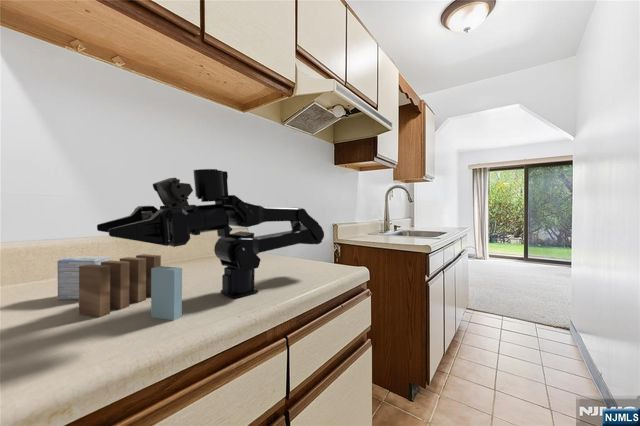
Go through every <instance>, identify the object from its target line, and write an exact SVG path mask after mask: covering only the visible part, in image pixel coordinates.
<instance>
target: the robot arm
mask: <svg viewBox="0 0 640 426" xmlns="http://www.w3.org/2000/svg"><path fill="white" fill-rule="evenodd" d="M192 171H193V180H194V189H193V187H192V185H191V184H190V183H188V182H187V183H185V182H181V180H180V178H177V177H169V178H166V179H163V180H160V181H157V182H153V183H152V187H153V190H154V191H155V192H156V193H157V195H158V197H159V199H160V201H161V203H162V204H163V205H159V208H157V207H155V206H154V205H140V206H139V205H138V206H137V207H135V208H134V210H133V211H132V213H130V215H127V216H124V217H120V218H117V219H112V220H109V221H105V222H101V223H99V224H97V225H96V229H97V230H96V231H98V232H104V233H108V235H109V237H112V238H116V239H118V238H119V239H123V240H129V241H136V242H142V243H146V244H147V243H149V244H155V245H160V246H165V247H168V246H170V247H174V248H175V247H180V246H185V245H187V243H188V242H189V241H190V240H191V236H198V235H199V236H200V235H201V233H208V232H214V231H217V237H218V239H217V241H216V242H215V244H214V249H213V250H214V251H213V252H214V255H215V256H216V257H217V258H218V259H219V261H220V264H221V266H225V267H223V270H224V273H223V274H222V275H221V276H222V279H221V280H222V281H221V285H222V286H221V288H222V289H221V290H220V293H221V294H224V295H226V296H228V297H230V298H232V299H239V298H241V297H246V296H249V295H252V294H253V295H254V294H257V293H258V292H259V289H257V288H255V276H256V275H255V271H256V270H255V269H258V268H259V267H260V262H261V258H260V257H259V256H258V255H259V254H260V253H264V252H269V251H273V250H277V249H282V248H286V247H290V246H294V245H300V244H302V245H303V244H304V245H319V244H321V243H322V242H323V240H324V238H325V232H324V229H323V228H322V227H323V226H321V225H320V224H319V221H317V220H316V219H314V218H313V217H312V216H311V215H309V214H308V211H307V210H306V209H305V208H303V207H289V208H288V207H265V206H262V205H259V204H256V203H251V202H247V201H246V202H245V201H243V200H242V199H241V198H239V197H238V196H237V195H235V194H231V195H230V194H229V189H228V188H229V187H228V185H229V184H228V177H229V176H228V171H227V170H226V171H225V170H224V171H223V170H220V169H219V170H218V169H216V168H215V169H214V168H213V169H212V168H205V169H203V168H201V169H194V170H192ZM194 190H195V191H194ZM192 192H195V197H196V198H197V200H201V203H206V202H207V203H208V202H214V203H212V204H202V205H197V204H189V201H188V200H189V196H190V195H191V194H192ZM266 222H267V223H268V222H269V223H270V222H289V223H290V227H291V230H287V231H281V232H280V231H279V232H275V233H268V234H264V235H258V236H257V235H256V236H255V233H254V232H251V231H250V232H249V231H237V232H233V233H231V232H232V231H233V228H232V227H241V228H250V227H255V226H258V225H261V224H263V223H266ZM231 226H232V227H231Z"/></svg>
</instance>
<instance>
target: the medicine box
mask: <svg viewBox="0 0 640 426" xmlns="http://www.w3.org/2000/svg"><path fill="white" fill-rule="evenodd" d="M110 258H111V257H110V256H107V255H106V256H99V255H98V256H96V255H93V256H92V255H91V256H90V255H89V256H87V255H85V256H84V255H83V256H82V255H79V256H77V255H76V256H69V257H65V258H61V259H58V260H57V263H56V264H57V268H56V269H57V300H79V266H82V265H88V264H94V265H101V262H104V261H109V260H111V259H110Z"/></svg>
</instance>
